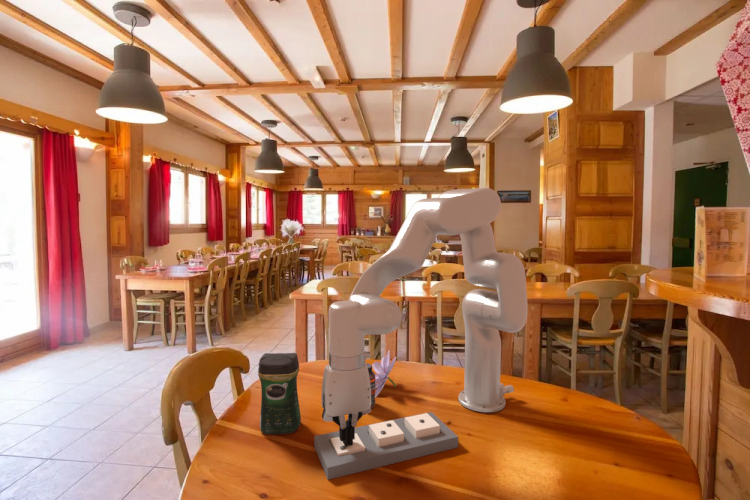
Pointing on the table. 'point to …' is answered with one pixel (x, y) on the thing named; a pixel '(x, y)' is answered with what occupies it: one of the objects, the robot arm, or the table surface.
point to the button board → (381, 449)
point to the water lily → (383, 372)
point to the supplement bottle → (372, 384)
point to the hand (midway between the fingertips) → (347, 442)
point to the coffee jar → (279, 393)
